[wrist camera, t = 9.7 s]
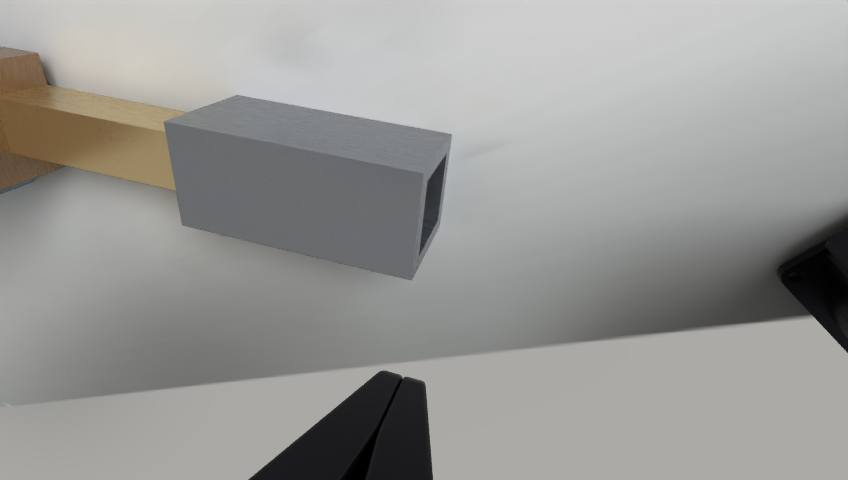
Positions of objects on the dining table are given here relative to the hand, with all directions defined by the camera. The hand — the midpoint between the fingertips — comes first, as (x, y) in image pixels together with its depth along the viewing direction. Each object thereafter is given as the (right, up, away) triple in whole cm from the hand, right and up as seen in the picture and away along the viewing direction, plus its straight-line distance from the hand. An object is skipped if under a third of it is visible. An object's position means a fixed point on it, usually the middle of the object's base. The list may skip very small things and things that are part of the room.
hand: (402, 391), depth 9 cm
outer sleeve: (-4, +6, +13) cm, 15 cm away
